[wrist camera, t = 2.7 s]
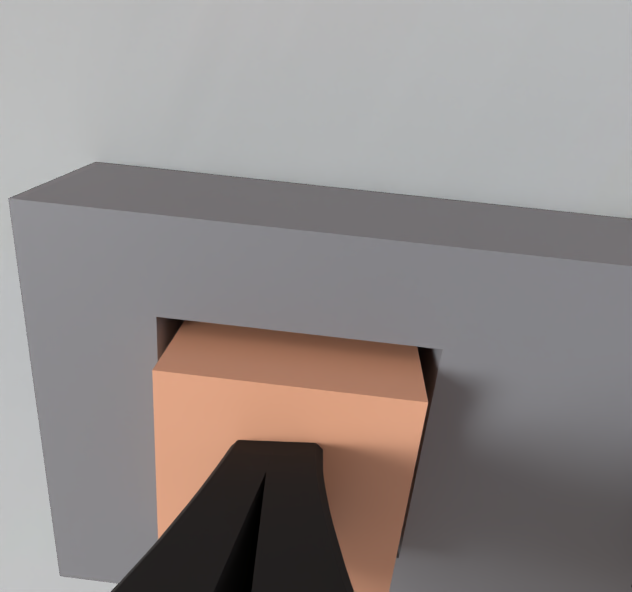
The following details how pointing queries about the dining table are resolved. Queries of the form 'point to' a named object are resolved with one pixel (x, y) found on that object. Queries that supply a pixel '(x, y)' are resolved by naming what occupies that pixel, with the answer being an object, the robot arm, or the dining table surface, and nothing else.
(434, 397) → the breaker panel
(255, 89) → the dining table surface
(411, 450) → the block
